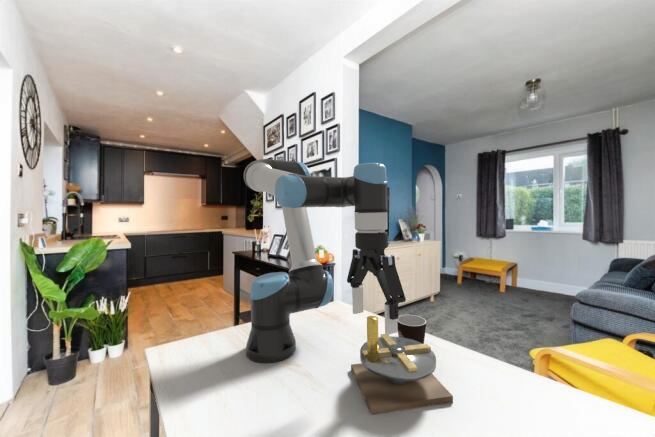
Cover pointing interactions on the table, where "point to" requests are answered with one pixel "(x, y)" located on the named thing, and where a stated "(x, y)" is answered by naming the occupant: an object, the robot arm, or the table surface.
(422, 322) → the coffee mug
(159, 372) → the table surface
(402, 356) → the handwheel
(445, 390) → the wheel stand
